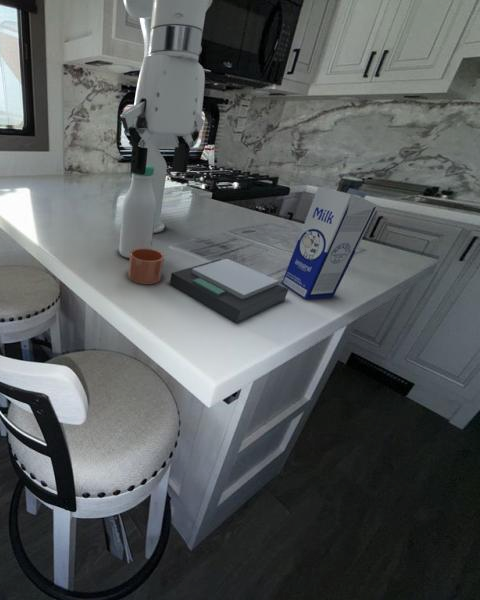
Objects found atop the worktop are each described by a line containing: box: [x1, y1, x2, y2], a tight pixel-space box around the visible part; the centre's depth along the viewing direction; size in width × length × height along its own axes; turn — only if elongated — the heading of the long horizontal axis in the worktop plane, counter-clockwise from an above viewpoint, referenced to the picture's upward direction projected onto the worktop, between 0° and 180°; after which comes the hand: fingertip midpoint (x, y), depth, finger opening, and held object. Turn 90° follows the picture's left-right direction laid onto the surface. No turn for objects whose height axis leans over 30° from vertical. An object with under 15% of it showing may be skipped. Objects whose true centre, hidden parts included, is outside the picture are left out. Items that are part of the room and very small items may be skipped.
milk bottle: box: [118, 165, 156, 259], centre depth 70 cm, size 8×8×20 cm
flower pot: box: [128, 248, 165, 285], centre depth 63 cm, size 7×7×5 cm
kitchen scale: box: [169, 258, 290, 324], centre depth 59 cm, size 16×15×4 cm
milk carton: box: [281, 185, 379, 300], centre depth 58 cm, size 7×7×20 cm
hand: (159, 172), depth 54 cm, fingers open, 9 cm apart
